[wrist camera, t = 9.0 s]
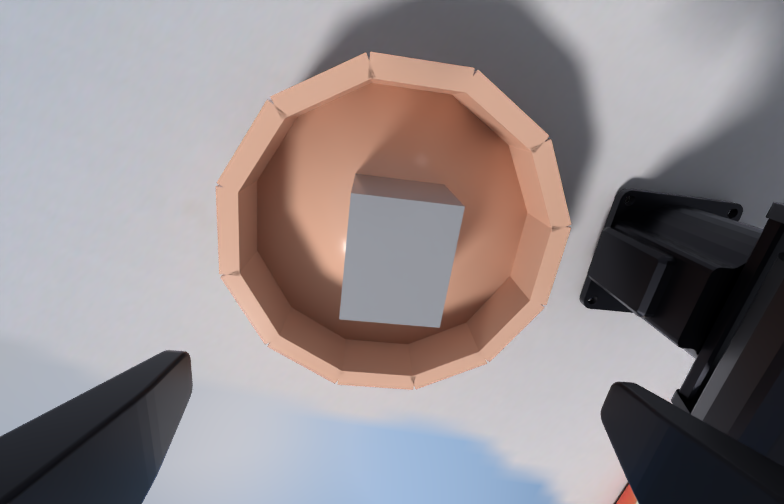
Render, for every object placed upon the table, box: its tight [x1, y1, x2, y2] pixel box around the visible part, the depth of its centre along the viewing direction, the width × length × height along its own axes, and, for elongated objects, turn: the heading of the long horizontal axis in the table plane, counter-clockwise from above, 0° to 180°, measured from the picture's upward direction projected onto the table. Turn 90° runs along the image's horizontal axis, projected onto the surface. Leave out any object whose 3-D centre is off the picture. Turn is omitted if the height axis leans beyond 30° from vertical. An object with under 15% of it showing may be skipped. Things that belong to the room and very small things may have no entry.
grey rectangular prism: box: [339, 174, 465, 328], centre depth 15 cm, size 4×5×4 cm
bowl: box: [216, 52, 571, 390], centre depth 17 cm, size 14×14×4 cm
